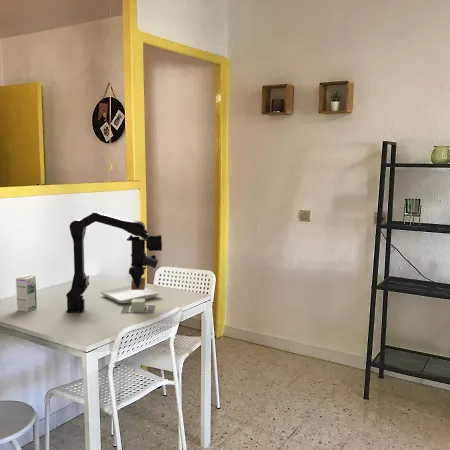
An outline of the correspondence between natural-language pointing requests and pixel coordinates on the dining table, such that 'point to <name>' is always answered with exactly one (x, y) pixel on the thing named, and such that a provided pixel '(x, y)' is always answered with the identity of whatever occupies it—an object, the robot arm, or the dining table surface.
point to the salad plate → (128, 294)
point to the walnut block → (141, 286)
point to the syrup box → (26, 293)
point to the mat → (148, 310)
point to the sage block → (138, 305)
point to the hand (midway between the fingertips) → (138, 285)
